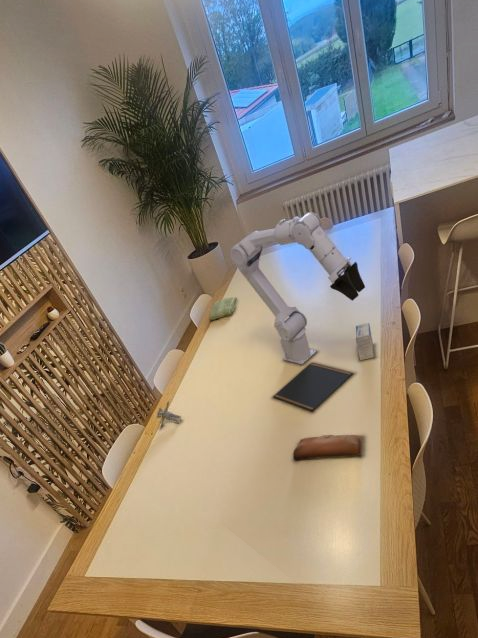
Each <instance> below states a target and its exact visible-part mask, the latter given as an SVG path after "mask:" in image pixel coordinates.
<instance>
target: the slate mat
mask: <svg viewBox="0 0 478 638" xmlns="http://www.w3.org/2000/svg"><path fill="white" fill-rule="evenodd" d="M353 374H354V373H353V372H351V371H347V370H343V369H339V368H334V367H332V366H328V365H323V364H319V363H315V362H310V363H309V364H308V365H307V366H306V367H305V368H304V369H302V370H301V371H300V372H299V373H298V374H297V375H296V376H294V377H293V378H292V379H291V380H290V381H289V382H288V383H286V384H285V385H284V386H283V387H282V388H281V389H280V390H278V391H277V393H275V394H274V395H273V396H272V398H274V399H276V400H279V401H281V402H284V403H287V404H289V405H293V406H294V407H298V408H301V409H302V410H303V409H304V410H306V411H308V412H312V413H313V412H314V411H315V410H317V409H318V407H319V406H321V405H322V404H323V403H324V402H325V401H326V400H327V399H328V398H330V396H332V394H334V392H336V391H337V390H338V389H339V388H340V387H341V386H342V385H343V384H345V383H346V381H347V380H348V379H349V378H351V377H352V376H353Z"/></svg>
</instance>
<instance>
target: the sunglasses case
mask: <svg viewBox="0 0 478 638" xmlns="http://www.w3.org/2000/svg"><path fill="white" fill-rule="evenodd" d="M362 452H363V436H362V435H360V434H339V435H338V434H337V435H336V434H335V435H334V434H323V435H321V436H313V437H305V438H301V439H300V441H299V444H298V445H297V447H296V448H294V449H293V452H292V453H293V454H292V455H293V460H304V459H305V460H306V459H315V458H329V457H349V456H351V457H352V456H362V454H363V453H362Z"/></svg>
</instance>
